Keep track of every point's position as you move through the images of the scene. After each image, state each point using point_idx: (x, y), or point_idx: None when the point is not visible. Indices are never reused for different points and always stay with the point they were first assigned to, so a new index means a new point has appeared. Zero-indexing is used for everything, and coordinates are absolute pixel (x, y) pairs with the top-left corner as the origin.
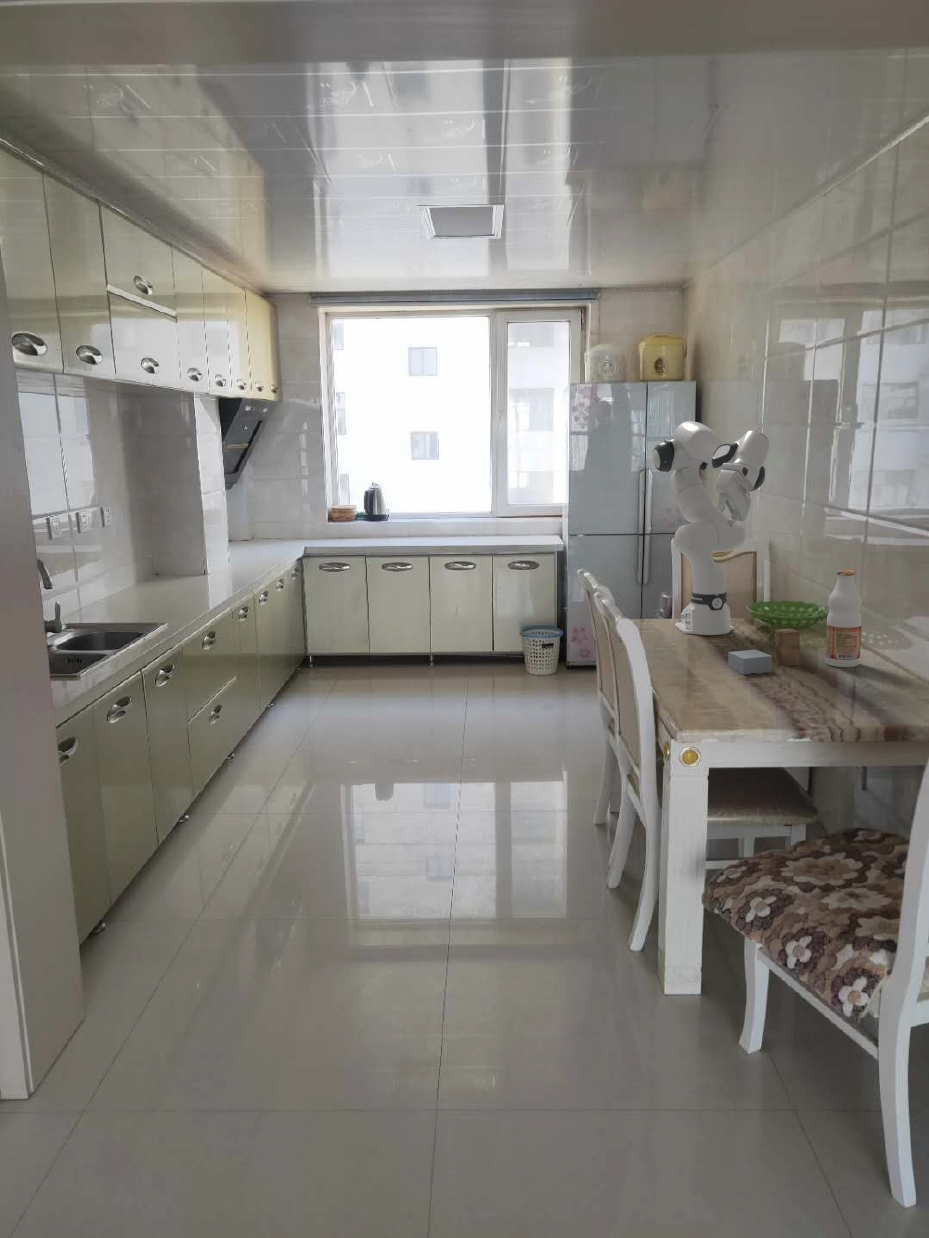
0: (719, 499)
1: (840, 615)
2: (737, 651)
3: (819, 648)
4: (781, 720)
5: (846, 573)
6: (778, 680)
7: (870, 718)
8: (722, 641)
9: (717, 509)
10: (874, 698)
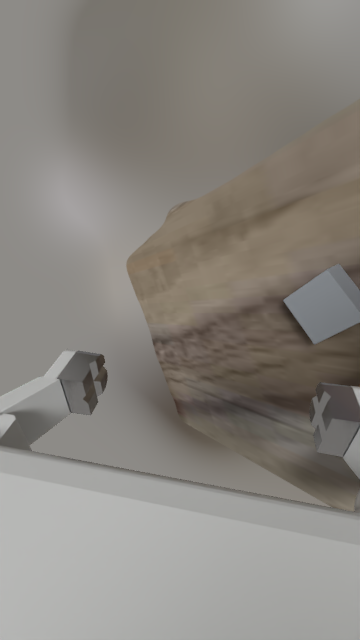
0: (6, 401)
1: (355, 505)
2: (337, 285)
3: None
4: (161, 331)
5: None
6: (277, 340)
7: (187, 397)
8: None
9: (79, 351)
10: (238, 422)
